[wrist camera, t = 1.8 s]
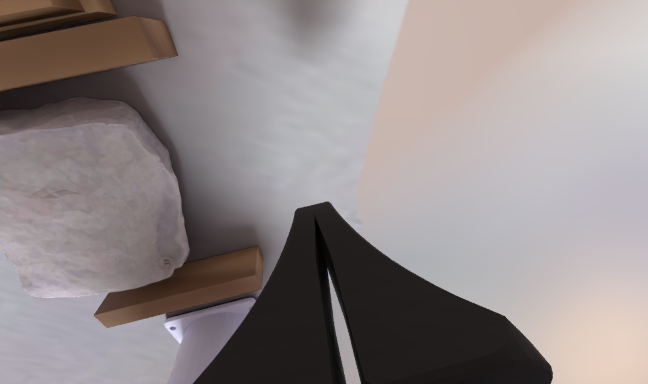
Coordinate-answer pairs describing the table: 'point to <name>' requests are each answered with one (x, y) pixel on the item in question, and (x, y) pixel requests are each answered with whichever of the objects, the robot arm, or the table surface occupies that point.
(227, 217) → the table surface
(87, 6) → the offcut low
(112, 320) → the wooden bar set
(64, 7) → the offcut top
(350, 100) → the table surface
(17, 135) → the stone block
